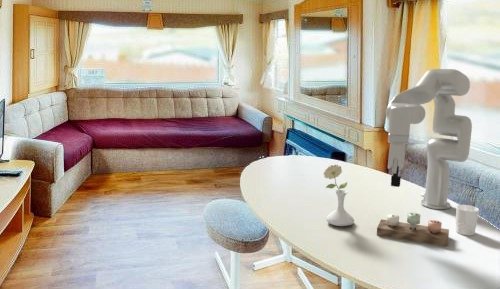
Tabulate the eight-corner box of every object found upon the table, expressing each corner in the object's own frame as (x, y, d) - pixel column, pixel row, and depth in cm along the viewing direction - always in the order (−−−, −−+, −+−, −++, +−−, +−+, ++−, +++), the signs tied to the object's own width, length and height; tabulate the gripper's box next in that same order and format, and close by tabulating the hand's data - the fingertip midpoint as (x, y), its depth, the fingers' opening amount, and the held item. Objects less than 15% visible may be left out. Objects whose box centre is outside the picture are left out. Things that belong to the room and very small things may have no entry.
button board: (376, 235, 168) (377, 227, 167) (380, 226, 177) (381, 219, 176) (447, 246, 157) (448, 238, 157) (448, 236, 166) (448, 229, 166)
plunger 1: (385, 232, 169) (386, 216, 168) (386, 228, 173) (387, 212, 172) (397, 234, 167) (398, 218, 166) (398, 230, 171) (400, 214, 170)
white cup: (464, 237, 166) (466, 212, 164) (449, 229, 173) (451, 205, 171) (481, 235, 168) (483, 210, 166) (466, 227, 176) (468, 204, 174)
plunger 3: (426, 239, 163) (427, 222, 162) (427, 234, 167) (428, 218, 166) (439, 241, 161) (441, 224, 160) (440, 237, 165) (441, 220, 164)
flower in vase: (352, 219, 185) (354, 161, 180) (355, 229, 174) (358, 168, 169) (321, 218, 186) (323, 161, 181) (322, 228, 175) (324, 167, 170)
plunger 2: (405, 231, 166) (406, 214, 164) (407, 227, 170) (408, 211, 168) (418, 233, 164) (419, 216, 162) (419, 229, 168) (420, 212, 166)
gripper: (390, 134, 171) (388, 180, 175) (385, 141, 158) (382, 189, 162) (411, 136, 168) (407, 182, 172) (406, 142, 155) (403, 192, 159)
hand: (395, 185), depth 167 cm, fingers closed
